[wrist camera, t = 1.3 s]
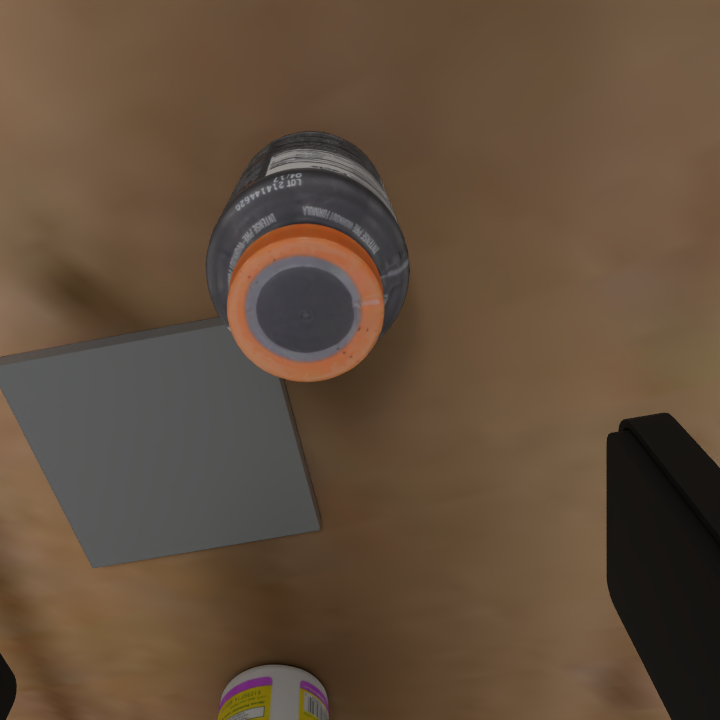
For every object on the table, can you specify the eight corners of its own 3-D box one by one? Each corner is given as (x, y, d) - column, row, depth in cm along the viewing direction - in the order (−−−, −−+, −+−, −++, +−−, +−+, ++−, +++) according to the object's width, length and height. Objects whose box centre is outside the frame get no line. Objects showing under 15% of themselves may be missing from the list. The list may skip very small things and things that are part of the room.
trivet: (0, 357, 28) (-10, 367, 27) (264, 308, 28) (262, 317, 27) (98, 554, 34) (92, 568, 33) (320, 516, 33) (320, 530, 32)
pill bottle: (298, 300, 28) (281, 454, 18) (208, 188, 25) (129, 291, 15) (413, 223, 26) (466, 341, 16) (330, 95, 24) (331, 143, 14)
